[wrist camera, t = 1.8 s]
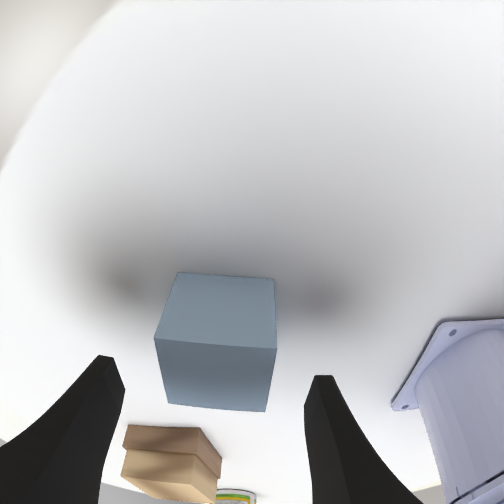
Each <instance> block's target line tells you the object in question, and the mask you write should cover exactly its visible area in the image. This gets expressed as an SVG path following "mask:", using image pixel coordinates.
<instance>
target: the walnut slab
mask: <svg viewBox="0 0 504 504" xmlns="http://www.w3.org/2000/svg"><path fill="white" fill-rule="evenodd" d="M122 447H124V448H125V449H126V450H127V449H136V450H146V451H157V452H171V453H195V454H196V455H197V456H198V458H199V459H200V460H201V461H202V462H203V463H204V464H205V465H206V466H207V467H208V468H209V469H210V470H211V472H212V473H213V474H214V475H215V476H216V477H217V478H218V479H220V475H221V463H222V457H221V456H220V455H219V454H218V452H217V451H216V450H215V448H214V447H213V445H212V444H211V443H210V441H209V440H208V439H207V437H206V436H205V434H204V433H203V432H202V430H201V429H200V428H186V427H156V426H140V425H128V428H127V431H126V435H125V438H124V442H123V445H122Z"/></svg>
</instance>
